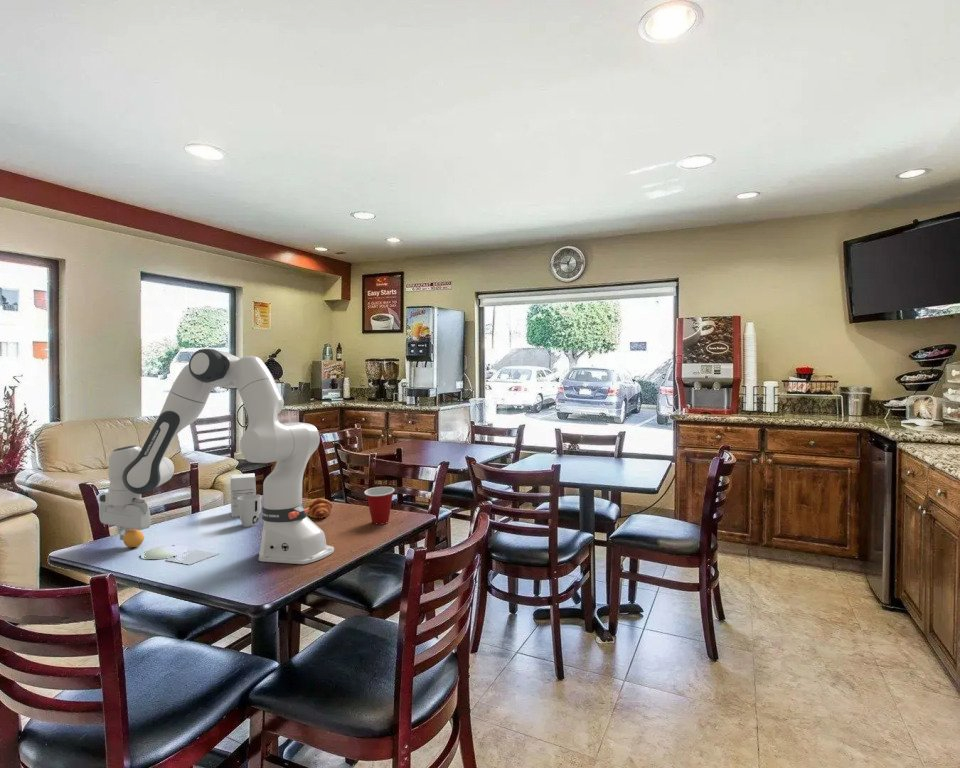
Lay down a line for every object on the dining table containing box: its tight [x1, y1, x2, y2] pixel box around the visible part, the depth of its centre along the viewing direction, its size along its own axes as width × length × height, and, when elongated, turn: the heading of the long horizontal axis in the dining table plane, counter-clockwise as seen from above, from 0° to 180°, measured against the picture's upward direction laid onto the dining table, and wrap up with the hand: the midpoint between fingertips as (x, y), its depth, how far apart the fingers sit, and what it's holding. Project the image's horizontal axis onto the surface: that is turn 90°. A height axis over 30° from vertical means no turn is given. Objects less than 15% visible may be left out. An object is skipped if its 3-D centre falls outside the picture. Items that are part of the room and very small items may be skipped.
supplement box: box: [230, 472, 257, 518], centre depth 211 cm, size 9×9×15 cm
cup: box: [237, 494, 263, 528], centre depth 195 cm, size 8×8×10 cm
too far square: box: [166, 549, 219, 566], centre depth 160 cm, size 10×10×1 cm
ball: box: [122, 529, 145, 549], centre depth 171 cm, size 6×6×6 cm
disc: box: [144, 546, 188, 560], centre depth 165 cm, size 13×13×1 cm
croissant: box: [304, 497, 333, 520], centre depth 209 cm, size 21×10×8 cm, turn 26°
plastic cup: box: [364, 486, 395, 525], centre depth 195 cm, size 11×11×12 cm
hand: (125, 540), depth 172 cm, fingers closed
